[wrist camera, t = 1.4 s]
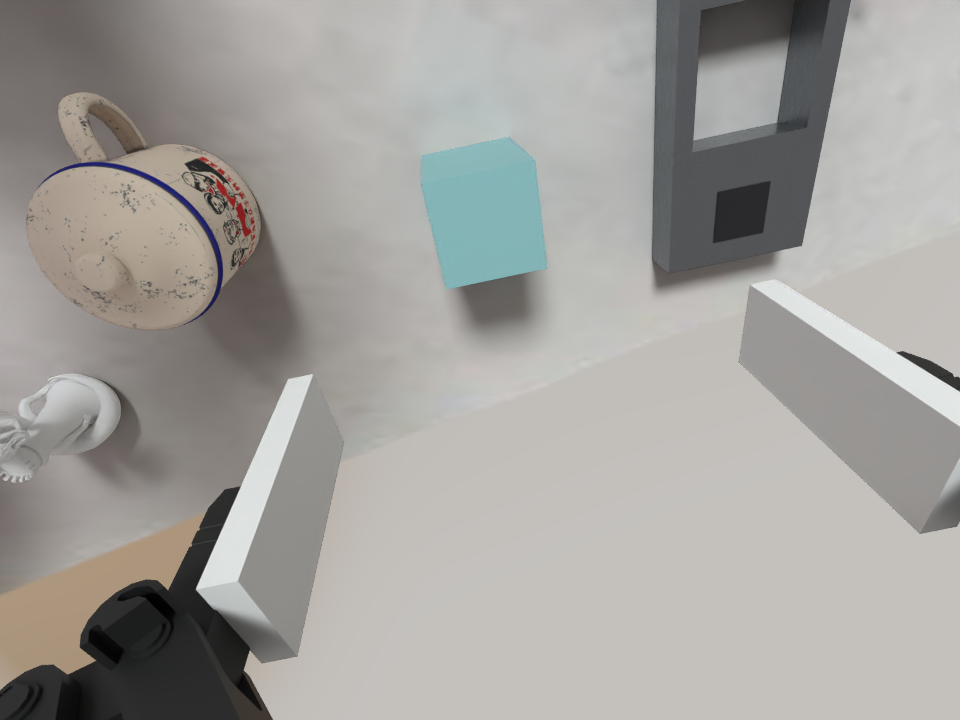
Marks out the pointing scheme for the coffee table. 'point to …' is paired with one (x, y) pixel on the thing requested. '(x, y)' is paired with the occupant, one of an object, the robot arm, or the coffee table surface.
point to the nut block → (484, 211)
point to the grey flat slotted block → (738, 144)
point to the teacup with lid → (139, 223)
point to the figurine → (57, 424)
